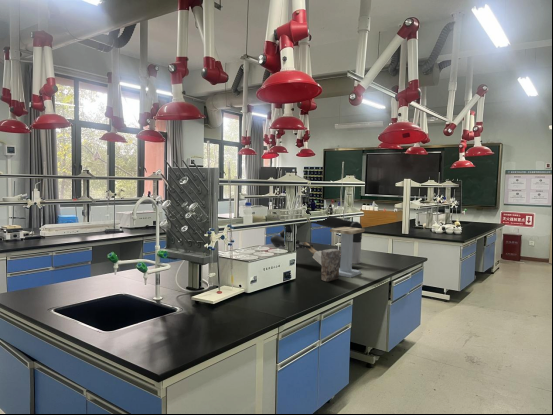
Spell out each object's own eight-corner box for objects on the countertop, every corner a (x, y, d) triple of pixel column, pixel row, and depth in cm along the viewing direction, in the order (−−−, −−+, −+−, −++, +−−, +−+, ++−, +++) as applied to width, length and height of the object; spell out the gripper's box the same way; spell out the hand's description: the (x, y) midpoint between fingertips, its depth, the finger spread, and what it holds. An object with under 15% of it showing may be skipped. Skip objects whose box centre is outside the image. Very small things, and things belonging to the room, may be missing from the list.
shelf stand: (328, 274, 269) (329, 229, 267) (342, 269, 286) (344, 226, 284) (348, 278, 259) (350, 231, 257) (362, 272, 277) (364, 228, 275)
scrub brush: (300, 246, 291) (303, 241, 289) (305, 245, 297) (308, 240, 295) (321, 265, 280) (325, 260, 278) (327, 264, 286) (330, 258, 284)
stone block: (328, 282, 248) (329, 251, 246) (319, 280, 252) (320, 250, 251) (340, 278, 257) (341, 249, 256) (331, 276, 262) (332, 248, 261)
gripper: (287, 240, 294) (306, 243, 284) (298, 238, 305) (316, 241, 295) (287, 249, 295) (306, 253, 284) (297, 247, 306) (316, 250, 295)
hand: (311, 246), depth 289 cm, fingers closed on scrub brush, 2 cm apart
